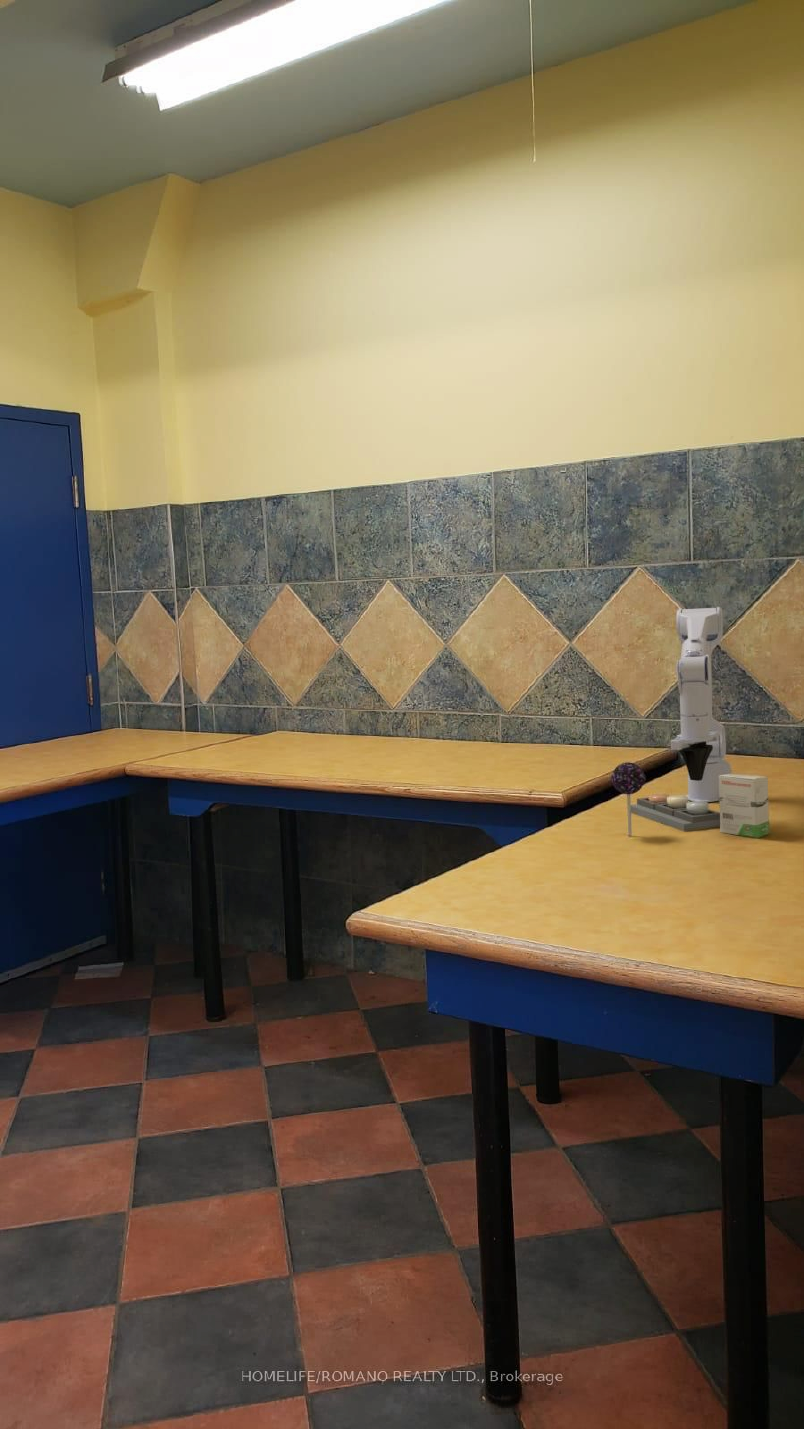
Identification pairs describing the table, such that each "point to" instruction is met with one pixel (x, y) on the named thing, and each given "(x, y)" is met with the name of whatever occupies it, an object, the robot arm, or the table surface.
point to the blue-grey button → (697, 807)
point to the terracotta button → (658, 798)
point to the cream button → (677, 801)
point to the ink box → (744, 805)
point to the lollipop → (628, 783)
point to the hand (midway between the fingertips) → (696, 779)
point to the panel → (675, 815)
